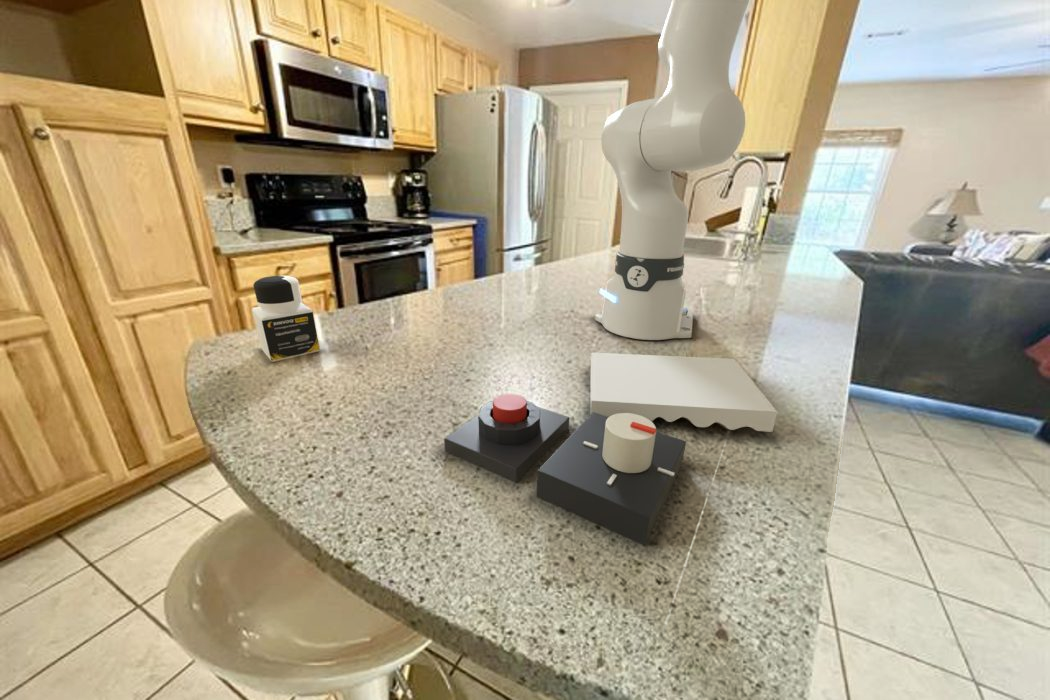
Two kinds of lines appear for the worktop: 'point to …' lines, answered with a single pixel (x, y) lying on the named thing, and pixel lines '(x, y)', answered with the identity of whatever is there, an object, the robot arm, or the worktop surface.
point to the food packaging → (679, 390)
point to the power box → (507, 440)
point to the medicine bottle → (283, 319)
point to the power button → (509, 408)
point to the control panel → (609, 481)
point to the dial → (628, 442)
